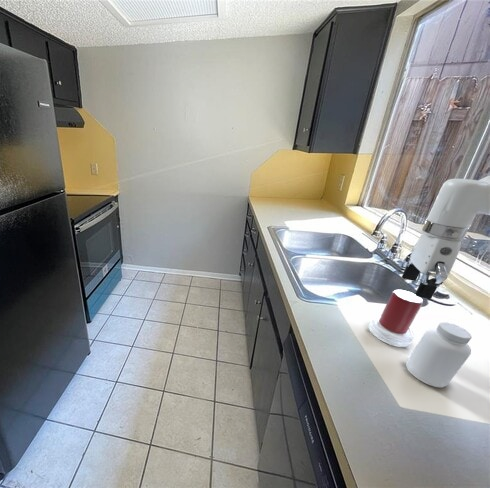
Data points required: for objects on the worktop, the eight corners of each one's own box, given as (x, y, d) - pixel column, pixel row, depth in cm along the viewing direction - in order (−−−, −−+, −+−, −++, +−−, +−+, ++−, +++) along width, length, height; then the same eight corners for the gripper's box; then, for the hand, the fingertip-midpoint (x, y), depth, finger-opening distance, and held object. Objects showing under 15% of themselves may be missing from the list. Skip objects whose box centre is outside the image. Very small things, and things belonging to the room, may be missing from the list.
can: (402, 323, 78) (418, 293, 74) (410, 337, 73) (428, 305, 68) (375, 316, 81) (390, 286, 76) (382, 329, 75) (397, 298, 71)
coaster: (415, 352, 72) (421, 343, 71) (373, 341, 76) (378, 332, 74) (401, 329, 81) (406, 320, 80) (364, 320, 84) (368, 311, 83)
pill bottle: (437, 393, 61) (471, 346, 55) (398, 367, 68) (424, 322, 61) (453, 382, 64) (487, 336, 58) (415, 358, 71) (441, 314, 64)
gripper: (486, 245, 55) (448, 309, 62) (446, 222, 70) (419, 276, 77) (440, 239, 58) (409, 301, 65) (411, 218, 73) (388, 270, 80)
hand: (415, 287), depth 71 cm, fingers open, 9 cm apart
